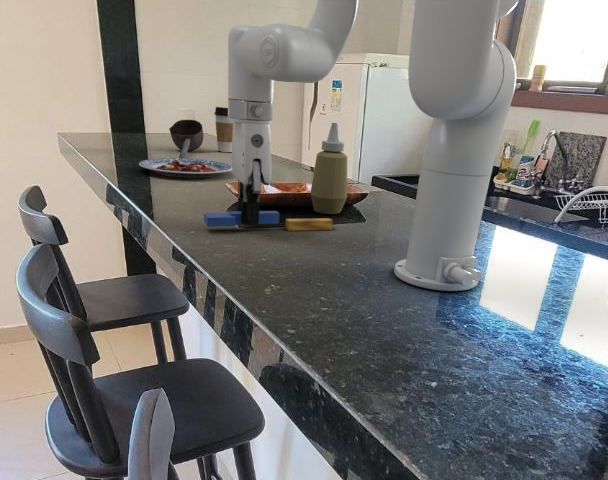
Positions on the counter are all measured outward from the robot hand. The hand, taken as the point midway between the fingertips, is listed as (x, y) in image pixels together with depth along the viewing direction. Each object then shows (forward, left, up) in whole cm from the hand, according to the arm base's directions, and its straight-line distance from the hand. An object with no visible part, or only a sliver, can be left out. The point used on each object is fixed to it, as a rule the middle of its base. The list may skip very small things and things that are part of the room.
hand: (248, 221), depth 98 cm
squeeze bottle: (+14, -22, -2) cm, 26 cm away
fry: (0, -12, -2) cm, 12 cm away
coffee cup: (+112, -21, -2) cm, 114 cm away
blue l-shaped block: (0, +1, 0) cm, 1 cm away
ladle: (+98, -4, -2) cm, 98 cm away
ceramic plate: (+63, +1, -2) cm, 63 cm away
